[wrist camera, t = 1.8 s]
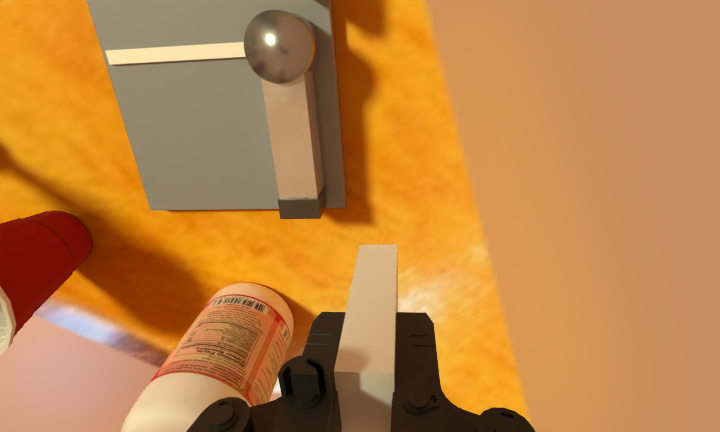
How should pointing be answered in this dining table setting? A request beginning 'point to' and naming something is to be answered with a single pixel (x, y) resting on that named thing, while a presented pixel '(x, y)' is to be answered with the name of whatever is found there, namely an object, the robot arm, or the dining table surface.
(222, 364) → the fruit juice
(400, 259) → the dining table surface
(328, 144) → the plate
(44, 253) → the plastic cup
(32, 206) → the dining table surface
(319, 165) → the lock bar
